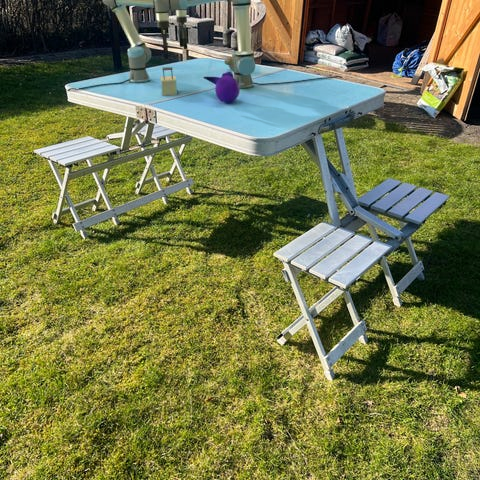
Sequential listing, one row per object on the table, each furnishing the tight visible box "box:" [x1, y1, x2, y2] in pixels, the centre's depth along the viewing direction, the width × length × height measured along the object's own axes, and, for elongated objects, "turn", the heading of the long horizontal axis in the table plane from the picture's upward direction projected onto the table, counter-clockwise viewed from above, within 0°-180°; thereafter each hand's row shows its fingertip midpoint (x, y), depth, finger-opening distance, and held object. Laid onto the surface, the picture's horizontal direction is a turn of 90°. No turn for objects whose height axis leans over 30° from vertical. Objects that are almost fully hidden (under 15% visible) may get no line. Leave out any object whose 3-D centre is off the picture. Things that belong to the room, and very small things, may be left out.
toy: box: [203, 71, 241, 104], centre depth 277 cm, size 16×18×27 cm
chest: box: [160, 80, 178, 97], centre depth 300 cm, size 13×10×9 cm
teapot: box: [223, 50, 237, 72], centre depth 368 cm, size 21×12×15 cm, turn 120°
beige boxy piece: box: [160, 66, 177, 82], centre depth 295 cm, size 14×10×8 cm
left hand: (183, 48), depth 337 cm, fingers open, 13 cm apart
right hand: (166, 57), depth 287 cm, fingers open, 13 cm apart
